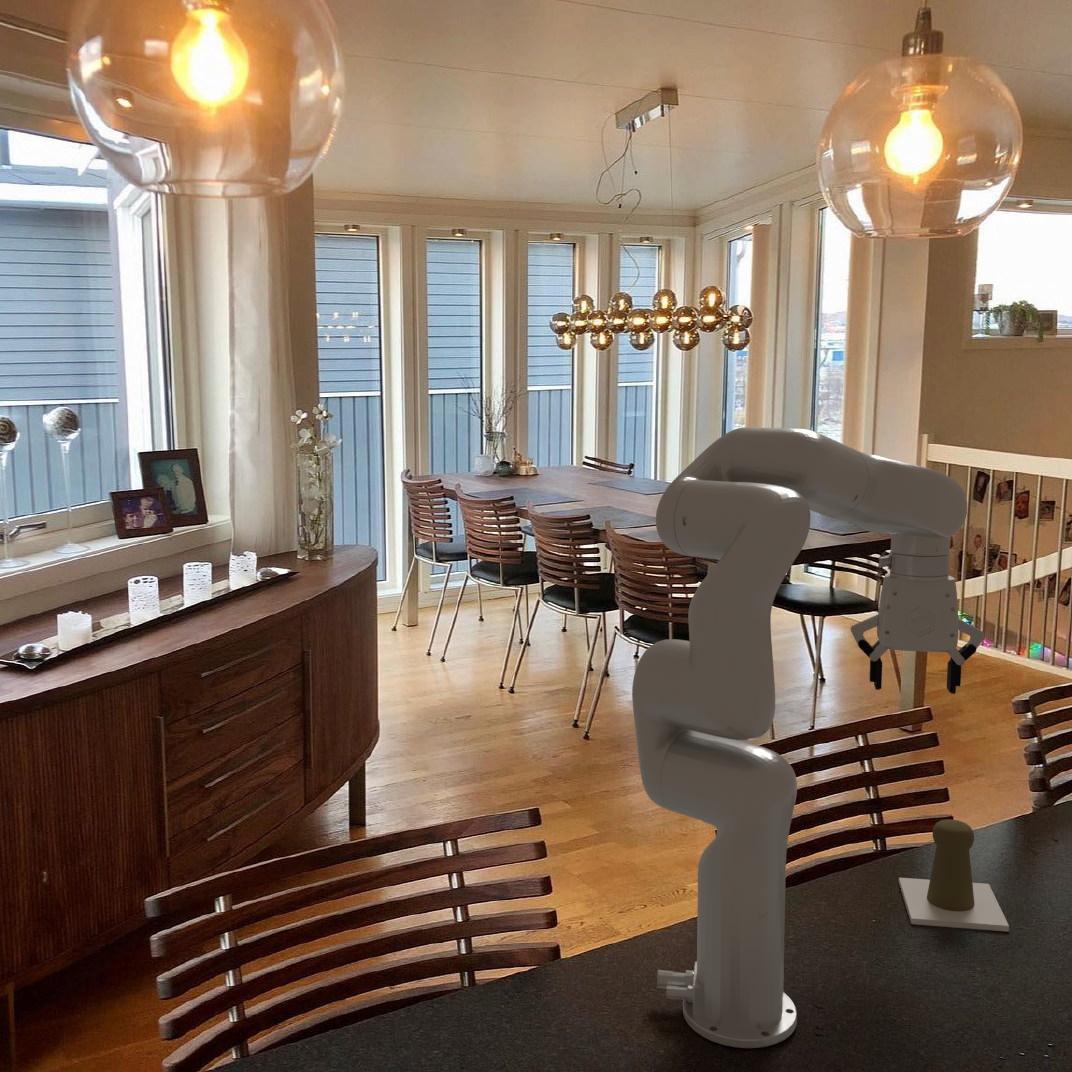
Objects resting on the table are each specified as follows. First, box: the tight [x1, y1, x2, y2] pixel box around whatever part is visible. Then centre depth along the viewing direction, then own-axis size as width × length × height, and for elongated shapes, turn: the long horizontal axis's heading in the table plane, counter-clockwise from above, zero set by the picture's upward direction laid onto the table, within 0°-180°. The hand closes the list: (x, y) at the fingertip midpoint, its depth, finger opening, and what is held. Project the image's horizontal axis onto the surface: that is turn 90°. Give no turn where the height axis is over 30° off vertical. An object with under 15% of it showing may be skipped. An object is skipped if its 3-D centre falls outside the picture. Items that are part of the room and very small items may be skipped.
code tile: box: [898, 877, 1010, 933], centre depth 146 cm, size 12×12×1 cm
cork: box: [927, 819, 975, 911], centre depth 145 cm, size 6×6×11 cm
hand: (914, 689), depth 148 cm, fingers open, 9 cm apart
